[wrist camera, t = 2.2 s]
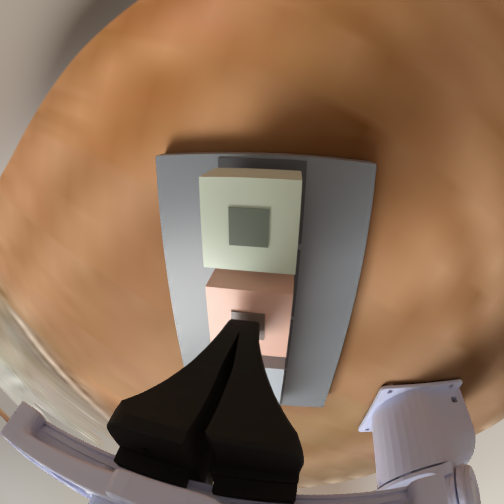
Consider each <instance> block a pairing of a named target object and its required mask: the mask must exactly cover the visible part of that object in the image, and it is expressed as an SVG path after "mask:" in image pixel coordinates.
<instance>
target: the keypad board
mask: <svg viewBox="0 0 504 504" xmlns="http://www.w3.org/2000/svg"><path fill="white" fill-rule="evenodd" d="M376 167H377V164H375V163H373V162H371V161H365V160H356V159H348V158H338V157H328V156H316V155H303V154H287V153H265V152H185V153H164V154H161V155H157V156H156V170H157V185H158V198H159V209H160V219H161V229H162V238H163V246H164V254H165V262H166V269H167V276H168V283H169V289H170V296H171V302H172V308H173V314H174V319H175V325H176V330H177V335H178V340H179V345H180V350H181V355H182V360H183V364H184V367H185V366H186V365H187V364H189V363H190V362H191V361H192V360H193V359H194V358H196V357H197V356H198V355H199V354H200V353H201V352H202V351H203V350H204V349H205V348H206V347H207V346H208V345H209V344H210V343H211V342H210V332H209V322H208V312H207V301H206V289H205V286H206V284H207V282H208V280H209V279H210V277H211V275H212V273H213V271H214V270H215V268H208V267H204V264H203V250H202V234H201V216H200V194H199V176H201V175H203V174H205V173H207V172H208V171H210V170H212V169H214V168H254V169H277V170H294V171H301V173H302V194H301V209H300V224H299V237H298V249H297V261H296V272H295V275H294V290H293V302H292V311H291V320H290V329H289V337H288V346H287V353H286V358H285V368H284V376H283V383H282V390H281V397H280V405H290V406H306V407H323V406H324V403H325V401H326V398H327V395H328V392H329V389H330V386H331V383H332V380H333V377H334V373H335V370H336V367H337V364H338V360H339V357H340V354H341V350H342V347H343V343H344V340H345V336H346V332H347V328H348V325H349V321H350V317H351V313H352V309H353V305H354V300H355V296H356V292H357V287H358V282H359V278H360V273H361V268H362V263H363V258H364V252H365V247H366V241H367V235H368V229H369V223H370V216H371V209H372V202H373V194H374V186H375V177H376Z"/></svg>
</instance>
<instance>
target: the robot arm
mask: <svg viewBox="0 0 504 504" xmlns="http://www.w3.org/2000/svg"><path fill="white" fill-rule="evenodd" d="M259 336H260V324H259V323H258V322H255V321H245V320H236V319H230V320H229V321H228V322H227V323H226V325H225V326H224V327H223V329H222V330H221V331H220V332H219V334H218V335H217V336H216V337H215V338H214V339H213V340H212V341H211V343H210V344H209V345H208V346H207V347H206V348H205V349H204V350H203V351H202V352H201V353H200V354H199V355H198V356H197V357H196V358H194V359H193V360H192V361H191V362H190V363H189V364H187V365H186V366H185V367H184V368H182V369H181V370H180V371H178V372H177V373H176V374H174V375H173V376H171V377H170V378H168V379H167V380H165V381H163V382H162V383H160V384H158V385H156V386H154V387H153V388H151V389H149V390H147V391H145V392H143V393H140V394H138V395H135V396H133V397H130V398H128V399H125V400H122V401H121V403H120V404H119V405H118V407H117V408H116V410H115V411H114V413H113V415H112V417H111V418H110V420H109V422H108V424H107V429H108V431H109V433H110V434H111V436H112V437H113V438H114V440H115V441H116V442H117V444H118V445H119V446H120V448H119V450H118V452H117V454H116V456H115V455H113V454H110V453H108V452H106V451H103V450H101V449H99V448H97V447H94V446H92V445H90V444H88V443H86V442H84V441H82V440H80V439H78V438H76V437H74V436H72V435H70V434H68V433H67V432H65V431H63V430H61V429H59V428H57V427H56V426H54V425H52V424H51V423H49V422H47V421H46V420H45V418H44V417H43V416H42V415H41V413H40V412H38V411H37V410H36V409H34V408H33V407H31V406H30V405H28V404H27V403H25V402H22V403H21V404H20V405H19V407H18V408H17V410H16V411H15V412H14V414H13V415H12V417H11V418H10V419H9V421H8V422H7V424H6V425H5V427H4V428H3V429H2V431H1V432H0V433H1V435H2V436H3V437H4V438H5V439H6V440H7V441H8V442H9V443H10V444H11V445H12V446H13V447H15V448H16V449H17V450H18V451H19V452H20V453H21V454H22V455H23V456H25V457H26V458H27V459H28V460H30V461H31V462H32V463H34V464H35V465H36V466H38V467H39V468H41V469H42V470H44V471H45V472H46V473H48V474H49V475H51V476H52V477H54V478H56V479H57V480H58V481H60V482H61V483H63V484H65V485H66V486H68V487H70V488H71V489H73V490H75V491H76V492H78V493H80V494H81V495H83V496H85V497H87V498H89V499H90V501H89V503H88V504H481V501H480V494H479V489H478V484H477V481H476V477H475V474H474V471H473V469H472V467H471V466H469V465H466V464H467V463H468V462H469V460H470V459H471V456H472V455H473V452H474V448H475V431H474V427H473V424H472V421H471V418H470V415H469V412H468V410H467V407H466V404H465V401H464V399H463V396H462V394H461V391H460V389H459V388H460V386H461V385H462V383H463V382H462V380H461V379H457V380H449V381H441V382H432V383H421V384H408V385H390V386H383V387H381V388H380V390H379V392H378V394H377V395H376V397H375V399H374V401H373V403H372V405H371V407H370V409H369V410H368V412H367V414H366V416H365V417H364V419H363V421H362V423H361V424H360V426H359V428H358V429H359V431H360V432H369V431H372V433H373V442H374V452H375V463H376V475H377V490H375V491H372V492H365V493H353V494H335V495H296V492H297V484H298V481H299V473H300V471H301V468H302V466H303V464H304V456H303V450H302V447H301V443H300V440H299V437H298V434H297V432H296V431H295V429H294V428H293V426H292V425H291V423H290V422H289V420H288V419H287V417H286V415H285V414H284V412H283V410H282V408H281V406H280V404H279V402H278V400H277V398H276V396H275V394H274V392H273V390H272V387H271V385H270V382H269V379H268V377H267V374H266V370H265V367H264V363H263V359H262V355H261V349H260V343H259ZM213 482H214V484H213ZM212 484H213V485H212Z"/></svg>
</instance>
